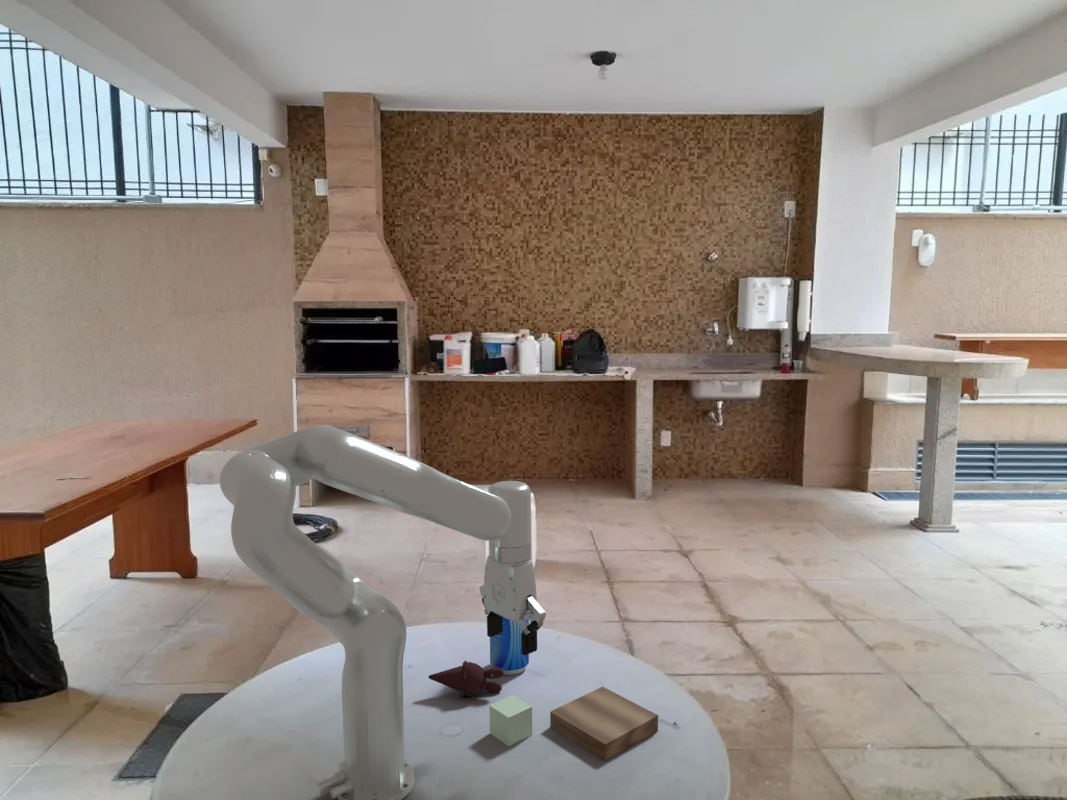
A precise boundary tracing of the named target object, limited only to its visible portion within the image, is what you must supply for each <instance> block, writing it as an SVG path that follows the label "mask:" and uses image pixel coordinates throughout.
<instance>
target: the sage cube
mask: <svg viewBox="0 0 1067 800" xmlns="http://www.w3.org/2000/svg"><path fill="white" fill-rule="evenodd" d="M489 734H490V735H492V736H493V737H494V738H496V739H497V740H499V741H500V742H502V743H503V744H504V745H506V746H507V747H511V746H513V745H515V744H517V743H518V742H521V741H523V740H525V739H527V738H529V737H531V736H533V706H531V705H530V704H528V703H527V702H525V701H523V700H521V699H520V698H518V697H517V696H515V695H514V694H513V695H509V696H508V697H506V698H503V699H501V700H498V701H497V702H496V701H495V703H492V704H490V705H489Z"/></svg>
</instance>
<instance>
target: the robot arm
mask: <svg viewBox="0 0 1067 800" xmlns="http://www.w3.org/2000/svg"><path fill="white" fill-rule="evenodd" d="M219 476H220V477H219V486H220V489H221V492H222V494H223V496H224V497H225V499H226V500H227V501H228V502H229V503H230V504H232V505H233V510H232V511H233V512H232V517H231V522H230V523H231V524H230V534H231V540H232V545H233V549H234V551H235V553H236V555H237V556H238V558H239V560H241V562H242V563H244V565H245V566H246V567H247V568H249V569H250V571H252V572H253V573H254V574H255V575H256V576H258V577H259V578H260V579H261V580H263V581H264V582H265V583H267V584H268V585H269V587H271V588H272V589H274V590H275V591H276V592H277V593H278V594H280V596H282V597H283V598H285V599H286V601H288V603H289V604H291V606H292V607H294V609H296V610H297V612H298V611H299V613H301V614H302V615H304V616H306V617H308V618H310V619H314V620H315V621H316V622H318V623H319V624H320V625H322V626H323V627H324V628H325V629H327V630H328V631H329V632H330V634H332V635H333V636H334V637H335V639H337V641H338V642H339V643H340V644H341V645H342V646H343V649H344V653H345V654H344V656H345V657H344V664H343V669H342V675H341V703H342V728H343V729H342V731H343V758H344V759H343V761H341V762H339V763H337V764H338V765H337V766H338V767H337V768H338V769H337V771H335V772H334V773H333V775H332V776H330V777H328V778H327V777H326V778H324V779H322V780H320V781H317V782H315V785H314V788H315V793H316V794H317V796H322V795H324V794H327V793H330V796H331V799H335V798H337V799H338V800H403V799H404V798H406V797H407V796H408V795H409V794H410V792H411V791H412V790H413V787H414V785H415V771H414V768H413V767H412V766H411V764H409V762H407V761H405V730H404V729H405V727H404V725H405V724H404V723H405V722H404V689H403V688H404V685H403V682H404V679H403V671H404V670H403V669H404V667H403V666H404V655H405V649H406V644H407V643H406V642H407V624H406V621H405V619H404V616H403V614H402V613H401V611H400V609H398V607H397V606H396V605H395V604H394V603H392V601H390V600H389V599H387V598H386V597H385V596H384V595H382V594H381V593H379V592H378V591H377V590H375V589H374V588H373V587H372V586H370V585H369V584H368V583H367V582H365V581H364V580H363V579H362V578H361V577H359V576H358V575H357V574H356V573H354V572H353V571H352V570H351V569H350V568H348V567H347V566H346V565H345V564H344V562H342V561H341V560H340V559H339V558H338V557H337V556H335V555H334V554H333V553H332V552H330V551H329V549H327V548H325V547H323V546H321V545H319V544H316V543H315V542H314V541H313V540H312V539H311V538H310V537H309V536H307V534H305V532H303V531H302V530H301V529H300V528H299V527H297V525H296V524H295V521H294V517H293V514H294V506H295V501H296V497H297V496H296V494H297V493H296V492H297V489H296V487H299V486H300V485H303V484H304V483H307V482H309V481H312V480H317V481H318V482H320V483H322V484H324V485H326V486H329V487H330V488H331V487H332V488H335V489H337V490H340V491H342V492H346V493H349V494H351V495H353V496H354V495H355V496H357V497H360V498H362V499H365V500H369V501H371V502H374V503H377V504H380V505H382V506H384V507H387V508H389V509H393V510H395V511H398V512H401V513H403V514H405V515H408V516H412V517H416V518H419V519H423V520H426V521H429V522H432V523H434V524H436V525H437V524H438V525H440V526H443V527H445V528H448V529H450V530H453V531H456V532H459V533H462V534H464V535H467V536H471V537H473V538H475V539H478V540H482V541H485V542H486V541H488V546H489V547H488V553H489V554H488V555H487V558H486V560H485V566H484V577H483V585H481V586H479V588H478V589H479V592H480V595H481V602H482V604H483V607H484V614H485V615H486V629H487V630H486V632H487V633H486V635H487V637H489V638H490V637H492V636H495V635H498V634H500V633H502V632H503V621H502V617H504V618H506V619H508V620H511V621H513V622H517V621H519V622H520V625H521V627H522V629H523V631H524V632H523V633H521V653H522V655H527V654H529V655H530V654H532V653H534V652H537V650H538V631H539V630H540V628H541V627H542V626H543V625H544V621H545V619H546V616H547V613H546V611H545V610H544V609H543V608H542V606H541V605H540V604H539V602H538V600H537V596H538V595H537V585H536V584H537V583H536V575H535V569H534V563H533V561H532V496H531V495H532V492H531V488H530V486H529V485H528V484H527V483H525V482H522V481H517V480H502V481H499V482H497V481H496V482H495V483H493V484H468V483H466V482H464V481H462V480H459V479H458V478H454V477H453V476H451V475H448V474H445V473H444V472H441V471H439V470H438V469H435V468H434V467H432V466H429V465H428V464H425V463H424V462H422V461H419V460H417V459H415V458H413V457H411V456H408V455H405V454H402V453H400V452H398V451H396V450H394V449H393V450H392V449H390V448H388V447H385V446H382V445H380V444H378V443H376V442H373V441H371V440H368V439H365V438H364V437H361V436H359V435H356V434H354V433H351V432H349V431H346V430H343V429H339V428H338V427H335V426H331V425H329V424H316V425H311V426H307V427H305V428H301V429H299V430H296V431H293V432H290V433H289V434H285V435H283V436H280V437H278V438H277V437H276V438H275V439H272V440H270V441H266V442H264V443H260V444H257V445H256V446H253V447H250V448H247V449H245V450H242V451H241V452H238V453H236V454H235V455H234V456H232V457H230V459H229V460H228V461H227V462H226V463H225V464H224V466H223V467H222V469H221V472H220V474H219ZM524 613H525V615H524ZM527 618H529V625H528V624H527V622H526V620H525V619H527Z"/></svg>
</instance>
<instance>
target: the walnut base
mask: <svg viewBox="0 0 1067 800" xmlns="http://www.w3.org/2000/svg"><path fill="white" fill-rule="evenodd" d="M549 714H550V716H549V717H550V718H549V719H550V720H549V721H550V722H549V724H550V725H549V726H550V728H551V729H552V730H555V731H557V732H558V733H559V734H561V735H563V736H564V737H565V738H568V739H569V740H571V741H573V742H574V743H576V744H578V745H579V746H581V747H582V748H584V749H586V750H587V751H588V752H590V753H592V754H594V755H595V756H596V757H598V758H600V759H602V760H603V761H604V762H605V761H608V760H609V759H612V758H613V757H614V756H615V757H616V755H618V754H620V753H622V752H624V751H625V750H627V749H628V748H630V747H632V746H634V745H636V744H638V743H639V742H640V741H641V742H642V740H644V739H646V738H647V737H650V736H651V735H653V734H655V733H656V732H658V731H659V715H658V714H657V713H655V712H653V711H651V710H649V709H647V708H645V707H643V706H641V705H639V704H637V703H636V702H633V701H632V700H629V699H627V698H626V697H624V696H623V695H620V694H618V693H616V692H614V691H612V690H610V689H608V688H606V687H604V686H600V687H598V688H597V689H594V690H592V691H590V692H588V693H586V694H584V695H581V696H579V697H578V698H575V699H574V700H572V701H569V702H567V703H566V704H563V705H561V706H559V707H557V708H555V709H553V710H550V713H549Z"/></svg>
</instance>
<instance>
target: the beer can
mask: <svg viewBox="0 0 1067 800" xmlns="http://www.w3.org/2000/svg"><path fill="white" fill-rule="evenodd" d="M524 615H525V613H524ZM525 620H526V622H527V624H528V625H529V624H530V620H529V618H527V619H525ZM502 621H503V632H502V633H500V634H498V635H495V636H492V637H489V661H490V662H489V663H490V666H492V667H491V668H493V667H499V668H501V669H502V670H503V672H504V675H503V676H514V675H518V674H521V673H523V672H524V671H525V669H526V668H527V666H528V665H529V662H530V654H527V655H522V653H521V633H523V632H524V631H523V629H522V627H521V625H520V622H519V621H517V622H513V621H511V620H508V619H506V618H504V617H502Z"/></svg>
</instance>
